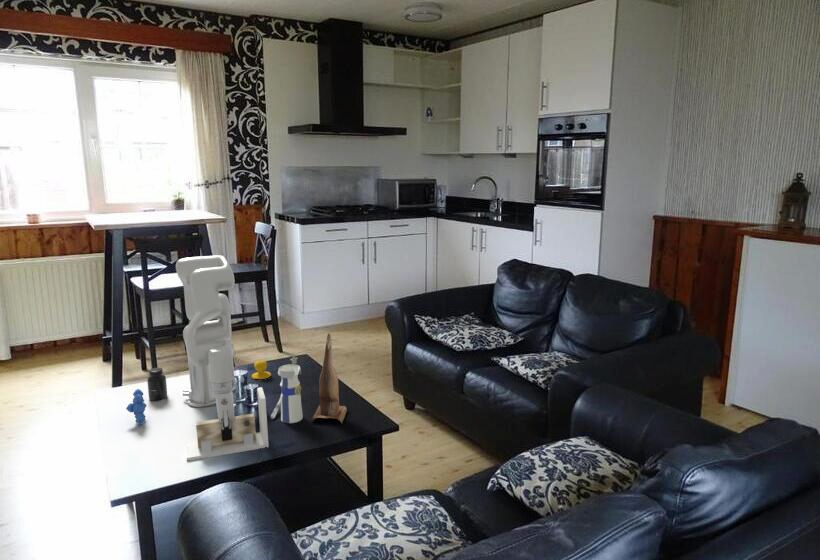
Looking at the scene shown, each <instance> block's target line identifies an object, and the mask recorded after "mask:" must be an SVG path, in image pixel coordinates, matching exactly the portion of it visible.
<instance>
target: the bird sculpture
mask: <svg viewBox="0 0 820 560" xmlns="http://www.w3.org/2000/svg"><path fill="white" fill-rule="evenodd" d="M325 342H326V343H325V350H324V357H323V362H322V369H321V372H320V375H319V381H318V383H319V384H318V385H319V386H318V387H319V390H318V392H319V393H318V394H319V405H318V406H317V409H316V411H315V413H314V414H313V417H312V418H311V423H313V422H314V421H315V420H316V419H319V418H320V419H325V418H326V419H329V418H330V419H336V420H338V421H340V424H343V421H344V419H345V417H346V414H347V410H348V409H347V407H346V405H340V399H339V398H340V396H339V394H340V393H339V377H338V376H339V375H338V373H337V370H336V369H335V367H334V366H333V365H334V364H333V351H332V350H333V348H332V347H333V345H332V344H333V343H332V334H331V333H330V332H328V333H327V337H326V341H325Z"/></svg>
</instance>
